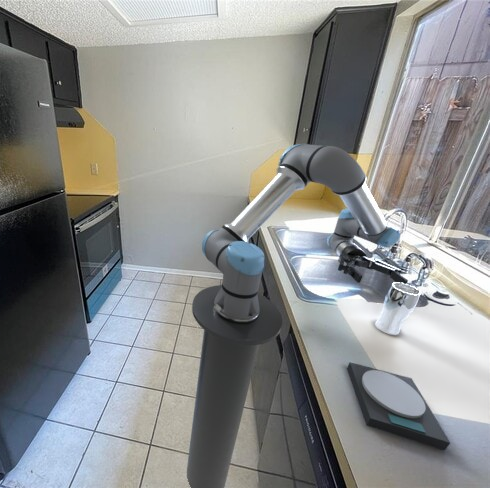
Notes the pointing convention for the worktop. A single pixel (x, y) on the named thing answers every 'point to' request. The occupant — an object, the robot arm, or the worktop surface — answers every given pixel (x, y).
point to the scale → (395, 405)
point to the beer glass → (397, 307)
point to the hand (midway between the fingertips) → (382, 281)
